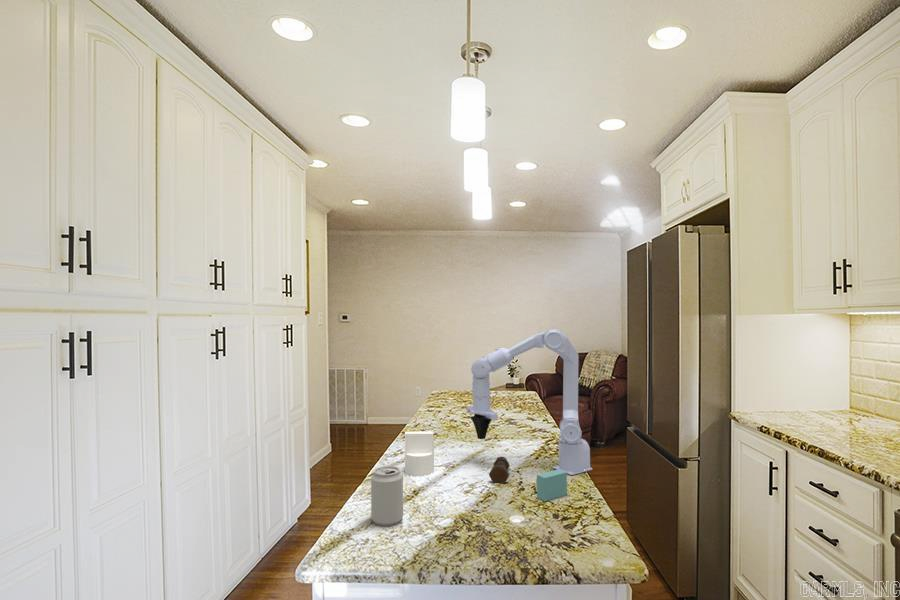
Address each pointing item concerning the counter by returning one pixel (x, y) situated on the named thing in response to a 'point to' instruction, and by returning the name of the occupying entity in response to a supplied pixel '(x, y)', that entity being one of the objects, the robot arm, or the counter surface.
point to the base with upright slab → (419, 453)
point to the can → (387, 495)
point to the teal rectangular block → (551, 485)
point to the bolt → (499, 470)
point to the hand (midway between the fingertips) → (481, 438)
